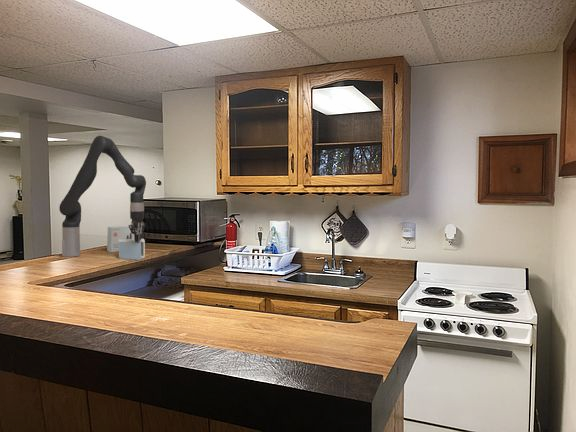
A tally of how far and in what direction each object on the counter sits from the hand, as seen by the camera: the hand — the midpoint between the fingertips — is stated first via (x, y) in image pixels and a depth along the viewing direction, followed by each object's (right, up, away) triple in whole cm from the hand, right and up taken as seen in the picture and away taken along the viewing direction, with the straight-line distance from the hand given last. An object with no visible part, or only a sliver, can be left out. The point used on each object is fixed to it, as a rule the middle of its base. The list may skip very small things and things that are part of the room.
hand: (137, 240), depth 252 cm
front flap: (-5, -11, +2) cm, 12 cm away
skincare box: (-20, -8, +35) cm, 41 cm away
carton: (-7, -10, +11) cm, 17 cm away
